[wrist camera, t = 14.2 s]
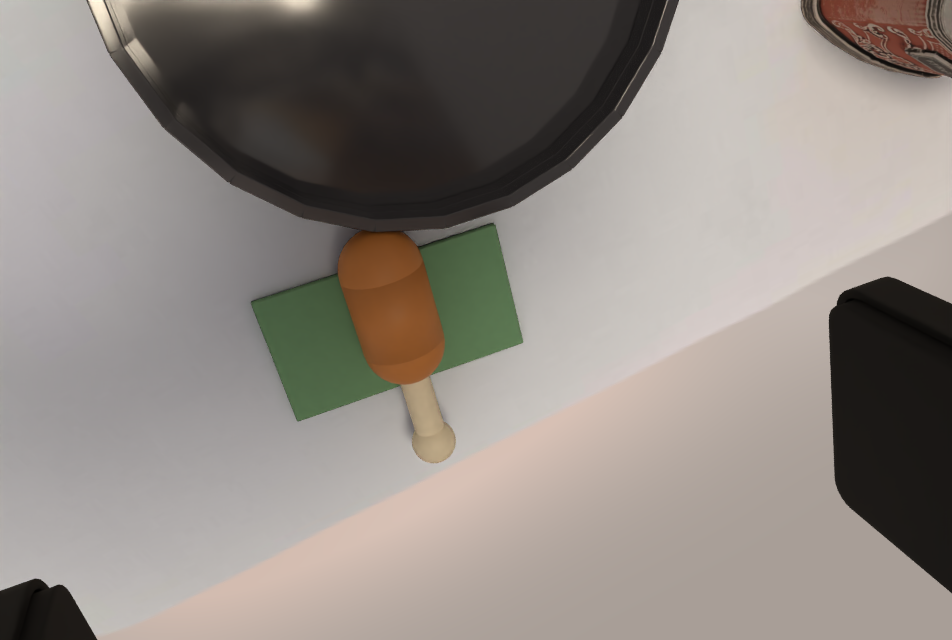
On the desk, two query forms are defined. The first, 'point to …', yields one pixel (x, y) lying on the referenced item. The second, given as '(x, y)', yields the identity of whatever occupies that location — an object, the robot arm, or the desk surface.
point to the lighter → (889, 32)
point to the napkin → (335, 339)
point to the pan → (387, 95)
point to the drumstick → (398, 327)
